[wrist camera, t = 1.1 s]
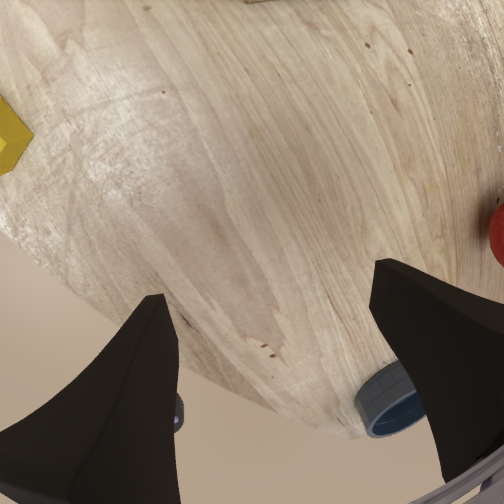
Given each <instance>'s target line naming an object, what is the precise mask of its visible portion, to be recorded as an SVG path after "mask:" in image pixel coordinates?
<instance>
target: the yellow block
mask: <svg viewBox="0 0 504 504" xmlns="http://www.w3.org/2000/svg"><path fill="white" fill-rule="evenodd" d="M33 136H34V135H33V134H32V133H31V131H30V130H29V129H28V128H27V127H26V126H25V125H24V123H23V122H22V121H21V120H20V119H19V118H18V116H17V115H16V114H15V113H14V112H13V110H12V109H11V108H10V107H9V106H8V104H7V103H6V102H5V101H4V99H3V98H2V97H1V96H0V176H1V175H3V174H5V173H7V172H9V171H11V170H13V168H14V166H15V165H16V163H17V161H18V160H19V158H20V156H21V155H22V153H23V152H24V150H25V148H26V147H27V145H28V144H29V142H30V141H31V139H32V138H33Z"/></svg>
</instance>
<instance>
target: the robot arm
mask: <svg viewBox="0 0 504 504" xmlns="http://www.w3.org/2000/svg"><path fill="white" fill-rule="evenodd" d="M369 309H370V311H371V313H372V315H373V317H374V320H375V322H376V324H377V326H378V328H379V330H380V331H381V333H382V335H383V336H384V338H385V339H386V341H387V342H388V344H389V346H390V347H391V349H392V350H393V352H394V353H395V355H396V356H397V358H398V359H399V361H400V363H401V364H402V366H403V367H404V369H405V370H406V372H407V374H408V375H409V377H410V379H411V381H412V383H413V385H414V387H415V389H416V391H417V394H418V396H419V398H420V400H421V403H422V405H423V408H424V410H425V413H426V416H427V418H428V421H429V424H430V427H431V430H432V433H433V437H434V439H435V443H436V447H437V452H438V456H439V461H440V465H441V471H442V477H443V479H444V481H445V483H446V484H445V485H443V486H441V487H439V488H438V489H436V490H434V491H432V492H430V493H428V494H426V495H424V496H422V497H421V498H418V499H416V500H414V501H412V502H410V503H408V504H451V503H452V502H454V501H455V500H457V499H458V498H460V497H462V496H463V495H465V494H466V493H468V492H469V491H471V490H472V489H474V488H475V487H477V486H478V485H480V484H481V483H482V485H481V488H480V492H479V493H478V494H477V495H475V496H474V497H472V498H471V499H469V500H468V501H466V502H464V503H463V504H504V304H501V303H498V302H495V301H491V300H489V299H486V298H483V297H480V296H477V295H474V294H472V293H469V292H467V291H464V290H462V289H460V288H457V287H455V286H452V285H450V284H448V283H446V282H444V281H441V280H439V279H437V278H435V277H433V276H431V275H429V274H426V273H424V272H422V271H420V270H418V269H416V268H414V267H411V266H409V265H407V264H405V263H402V262H400V261H397V260H394V259H391V258H388V259H382V260H377V261H376V262H375V270H374V277H373V284H372V291H371V297H370V304H369ZM178 370H179V349H178V338H177V335H176V332H175V329H174V325H173V322H172V319H171V316H170V313H169V309H168V306H167V303H166V300H165V296H164V294H156V295H148V296H145V298H144V299H143V300H142V301H141V302H140V304H139V305H138V306H137V308H136V309H135V310H134V311H133V313H132V314H131V315H130V317H129V318H128V319H127V321H126V322H125V323H124V324H123V326H122V327H121V328H120V330H119V331H118V332H117V333H116V335H115V336H114V337H113V338H112V339H111V340H110V342H109V343H108V344H107V345H106V346H105V348H104V349H103V350H102V351H101V352H100V353H99V355H98V356H97V357H96V358H95V359H94V360H93V361H92V362H91V363H90V364H89V365H88V366H87V367H86V368H85V369H84V370H83V371H82V372H81V373H80V374H79V375H78V376H77V377H76V378H75V379H74V380H73V381H72V382H71V383H70V384H68V385H67V386H66V387H65V388H64V389H63V390H61V391H60V392H59V393H58V394H57V395H55V396H54V397H53V398H52V399H51V400H49V401H48V402H47V403H45V404H44V405H43V406H41V407H40V408H39V409H37V410H36V411H34V412H33V413H31V414H30V415H28V416H27V417H26V418H24V419H22V420H20V421H19V422H17V423H15V424H14V425H12V426H10V427H8V428H6V429H5V430H3V431H1V432H0V492H1V493H2V494H4V495H5V496H7V497H8V498H10V499H12V500H13V501H15V502H17V503H18V504H181V501H180V494H179V487H178V479H177V469H176V459H175V444H174V423H177V422H178V417H177V416H175V405H176V393H177V382H178Z"/></svg>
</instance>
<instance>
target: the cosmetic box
mask: <svg viewBox="0 0 504 504" xmlns="http://www.w3.org/2000/svg"><path fill="white" fill-rule="evenodd" d="M259 1H268V0H244V2H246V3H251V2H259Z"/></svg>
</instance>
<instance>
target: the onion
mask: <svg viewBox="0 0 504 504" xmlns="http://www.w3.org/2000/svg"><path fill="white" fill-rule="evenodd" d="M488 225H489V239H490V247H491V250H492V252H493V254H494V256H495V258H496V259H497V261H498V262H499V263H500V264H501V265H502V266H503V267H504V203H503V204H502V205H500V207H499V208H498V209H497V210H496V211H495V212H494V213H493V214H492V215H491V216H490V217H489V221H488Z"/></svg>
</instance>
